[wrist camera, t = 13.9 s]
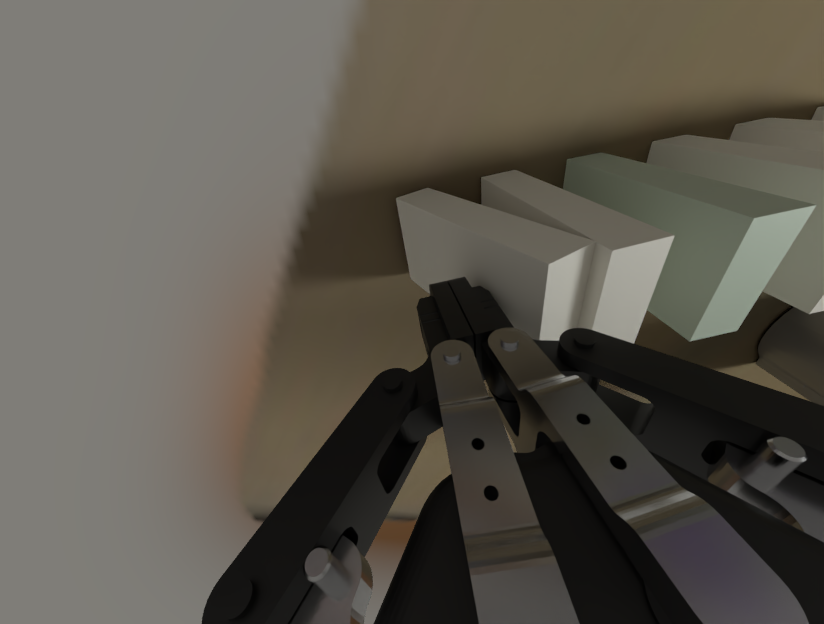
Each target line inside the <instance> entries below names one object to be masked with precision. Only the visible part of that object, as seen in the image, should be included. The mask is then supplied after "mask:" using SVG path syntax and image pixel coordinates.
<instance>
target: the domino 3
mask: <svg viewBox="0 0 824 624" xmlns="http://www.w3.org/2000/svg"><path fill="white" fill-rule="evenodd" d="M563 189H564V190H566V191H568V192H571V193H573V194H576V195H578V196H581V197H583V198H585V199H588V200H590V201H593V202H595V203H598V204H600V205H603V206H605V207H607V208H610V209H612V210H615V211H617V212H620V213H622V214H624V215H627V216H629V217H632V218H634V219H637V220H639V221H641V222H644V223H646V224H649V225H651V226H654V227H656V228H658V229H661V230H663V231H666V232H668V233H671V234H673V235H675V236H674V239H673V241H672V244H671V247H670V249H669V252H668V255H667V257H666V260H665V263H664V265H663V268H662V271H661V273H660V276H659V279H658V281H657V284H656V287H655V289H654V292H653V294H652V297H651V300H650V302H649V305H648V308H647V310H648V311H649V312H650V313H652V314H653V315H654V316H656V317H657V318H658V319H660V320H661V321H662V322H664V323H665V324H666V325H668V326H669V327H671V328H672V329H673V330H675V331H676V332H677V333H679V334H680V335H681V336H683V337H684V338H685V339H687V340H688V341H689V342H690V341H694V340H699V339H703V338H708V337H712V336H716V335H721V334H725V333H730V332H734V331H737V330H738V329H739V327H740V326H741V324H742V322H743V321H744V319H745V318H746V316H747V315H748V313H749V311H750V310H751V308H752V307H753V305H754V304H755V302H756V300H757V299H758V297H759V296H760V294H761V292H762V291H763V289H764V288H765V286H766V285H767V283H768V281H769V280H770V278H771V277H772V275H773V273H774V272H775V270H776V269H777V267H778V266H779V264H780V262H781V261H782V259H783V258H784V256H785V254H786V253H787V251H788V250H789V248H790V247H791V245H792V243H793V242H794V240H795V239H796V237H797V235H798V234H799V232H800V231H801V229H802V228H803V226H804V224H805V223H806V221H807V220H808V218H809V216H810V215H811V213H812V212H813V210H814V209H815V207H816V205H815V204H811V203H807V202H803V201H799V200H795V199H791V198H786V197H782V196H778V195H774V194H770V193H766V192H762V191H758V190H754V189H750V188H746V187H741V186H737V185H733V184H729V183H725V182H721V181H717V180H713V179H709V178H705V177H700V176H696V175H692V174H688V173H684V172H680V171H676V170H672V169H668V168H664V167H660V166H655V165H651V164H647V163H643V162H639V161H635V160H631V159H627V158H623V157H619V156H614V155H610V154H606V153H602V152H600V153H595V154H590V155H585V156H580V157H575V158H570V159H567V163H566V170H565V177H564V185H563Z"/></svg>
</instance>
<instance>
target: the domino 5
mask: <svg viewBox="0 0 824 624" xmlns="http://www.w3.org/2000/svg"><path fill="white" fill-rule="evenodd" d="M646 163H647V164H651V165H655V166H660V167H664V168H668V169H672V170H676V171H680V172H684V173H688V174H692V175H696V176H700V177H705V178H709V179H713V180H717V181H721V182H725V183H729V184H733V185H737V186H741V187H746V188H750V189H754V190H758V191H762V192H766V193H770V194H774V195H778V196H782V197H786V198H791V199H795V200H799V201H803V202H807V203H811V204H815V205H816V207H815V209H814V210H813V212H812V213H811V215H810V216H809V218H808V220H807V221H806V223H805V224H804V226H803V228H802V229H801V231H800V232H799V234H798V235H797V237H796V239H795V240H794V242H793V243H792V245H791V247H790V248H789V250H788V251H787V253H786V254H785V256H784V258H783V259H782V261H781V262H780V264H779V266H778V267H777V269H776V270H775V272H774V273H773V275H772V277H771V278H770V280H769V281H768V283H767V285H766V286H765V288H764V289H763V292H765V293H767V294H769V295H771V296H773V297H775V298H777V299H779V300H781V301H783V302H785V303H787V304H789V305H791V306H793V307H796V308H798V309H800V310H802V311H804V312H806V313H808V314H811V313H816V312H820V311H824V152H818V151H810V150H802V149H794V148H786V147H779V146H771V145H763V144H755V143H748V142H740V141H732V140H724V139H717V138H709V137H701V136H693V135H681V136H676V137H671V138H667V139H662V140H657V141H652V144H651V148H650V151H649V155H648V158H647V162H646Z"/></svg>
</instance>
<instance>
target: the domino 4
mask: <svg viewBox="0 0 824 624" xmlns="http://www.w3.org/2000/svg"><path fill="white" fill-rule="evenodd" d="M729 140H732V141H740V142H748V143H755V144H763V145H771V146H779V147H786V148H794V149H802V150H810V151H818V152H824V121H818V120H802V119H785V118H764V119H759V120H754V121H749V122H744V123H739V124H735V127H734V129H733V132H732V134H731V137H730V139H729Z"/></svg>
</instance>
